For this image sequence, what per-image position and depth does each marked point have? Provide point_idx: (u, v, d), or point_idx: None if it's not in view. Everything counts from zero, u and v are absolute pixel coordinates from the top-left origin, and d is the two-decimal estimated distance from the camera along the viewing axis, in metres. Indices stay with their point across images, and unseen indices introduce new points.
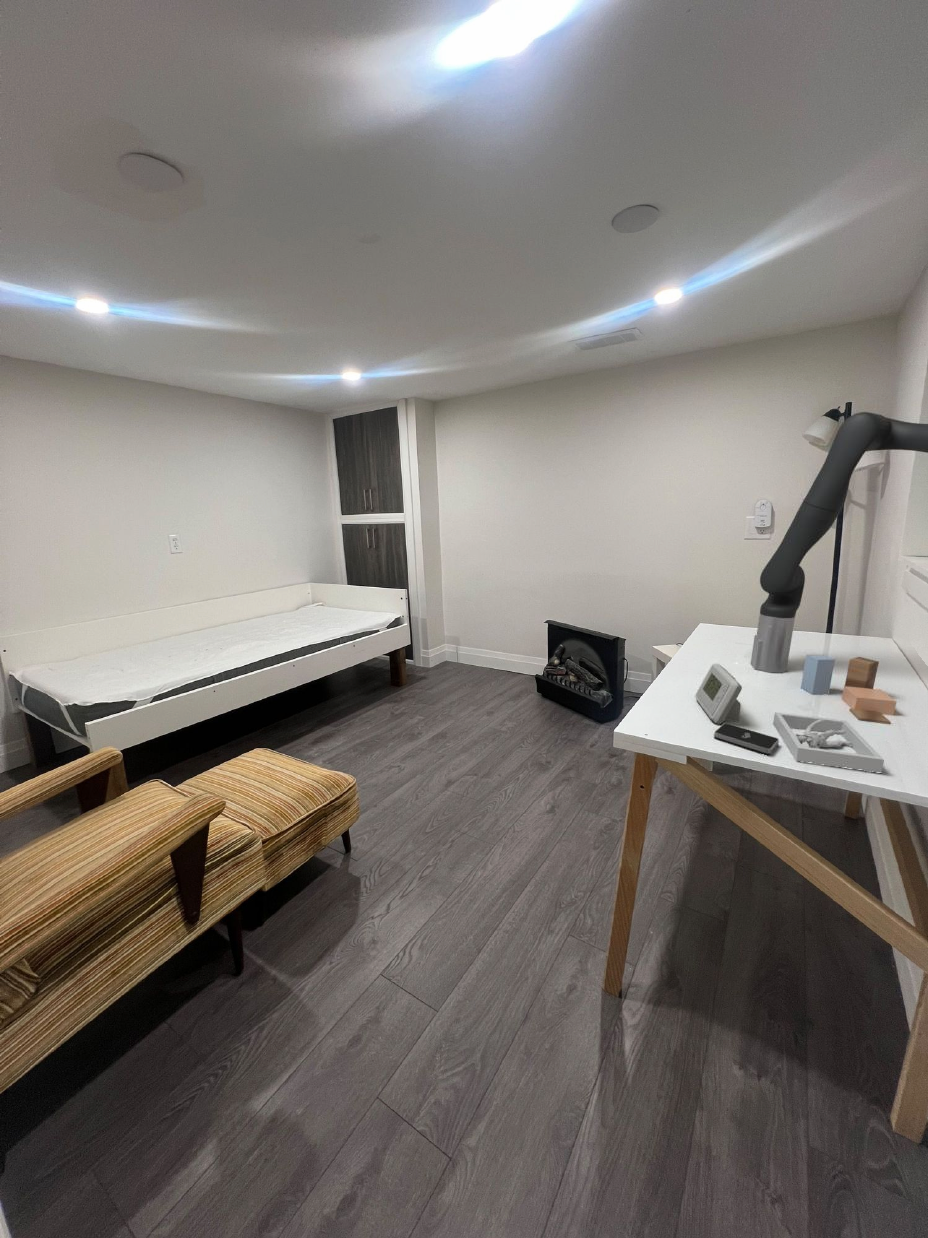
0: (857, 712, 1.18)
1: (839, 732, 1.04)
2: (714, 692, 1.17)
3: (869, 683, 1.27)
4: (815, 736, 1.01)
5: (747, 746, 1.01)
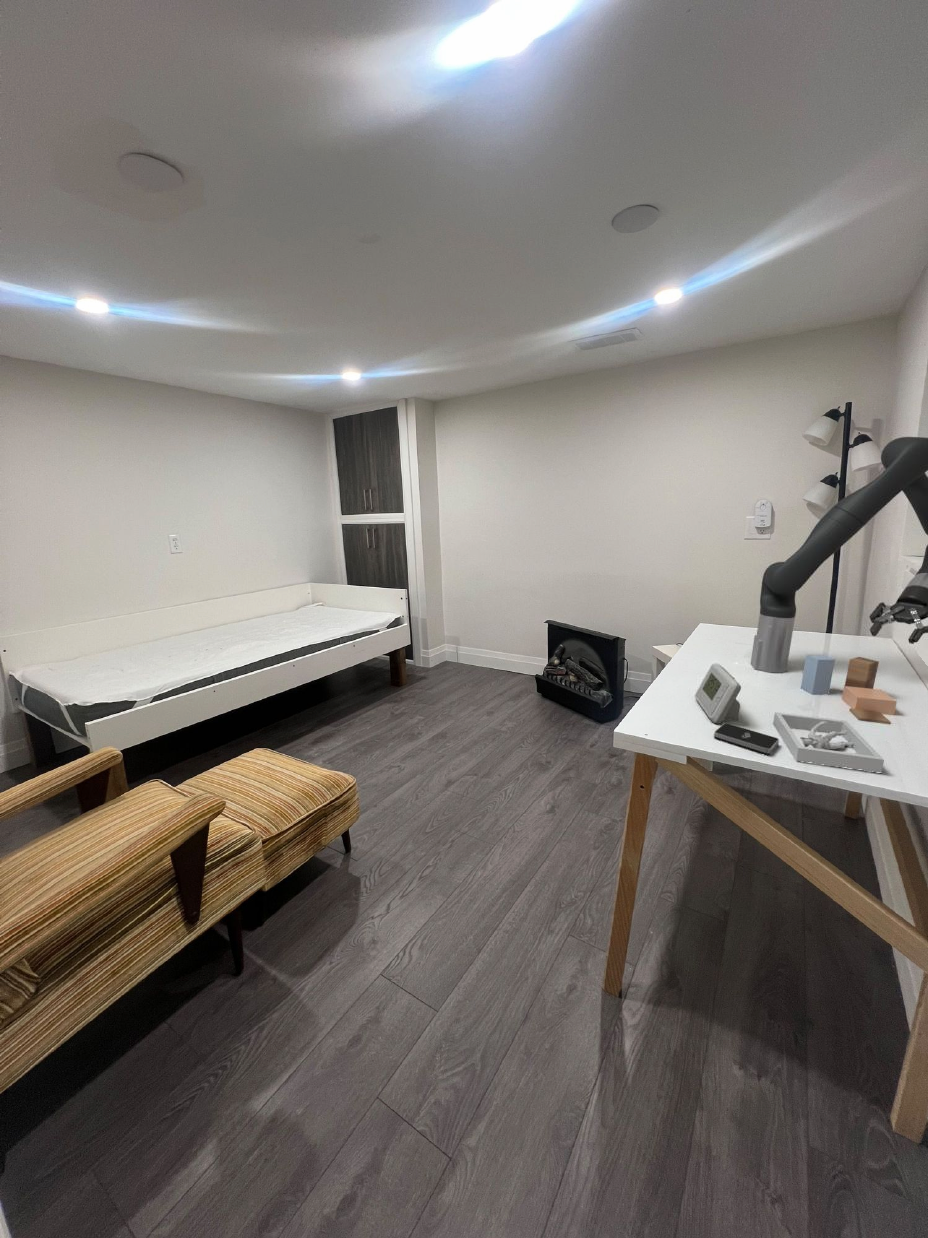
0: (857, 712, 1.18)
1: (841, 733, 1.04)
2: (714, 692, 1.17)
3: (869, 683, 1.27)
4: (820, 738, 1.00)
5: (747, 746, 1.01)
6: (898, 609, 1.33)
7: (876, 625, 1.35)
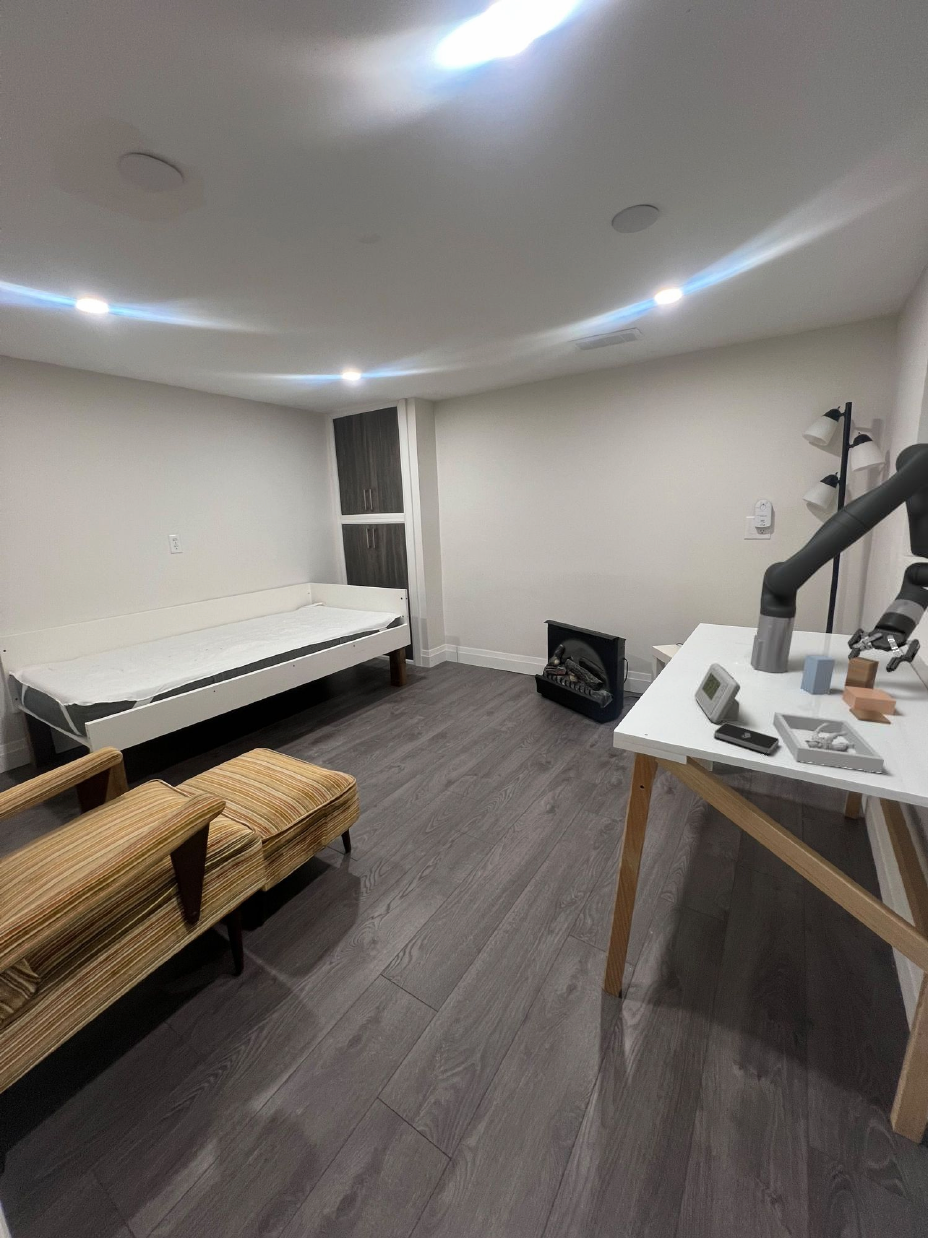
0: (857, 712, 1.18)
1: (841, 734, 1.03)
2: (713, 692, 1.18)
3: (869, 683, 1.27)
4: (824, 741, 0.99)
5: (747, 746, 1.02)
6: (876, 636, 1.31)
7: (854, 652, 1.33)
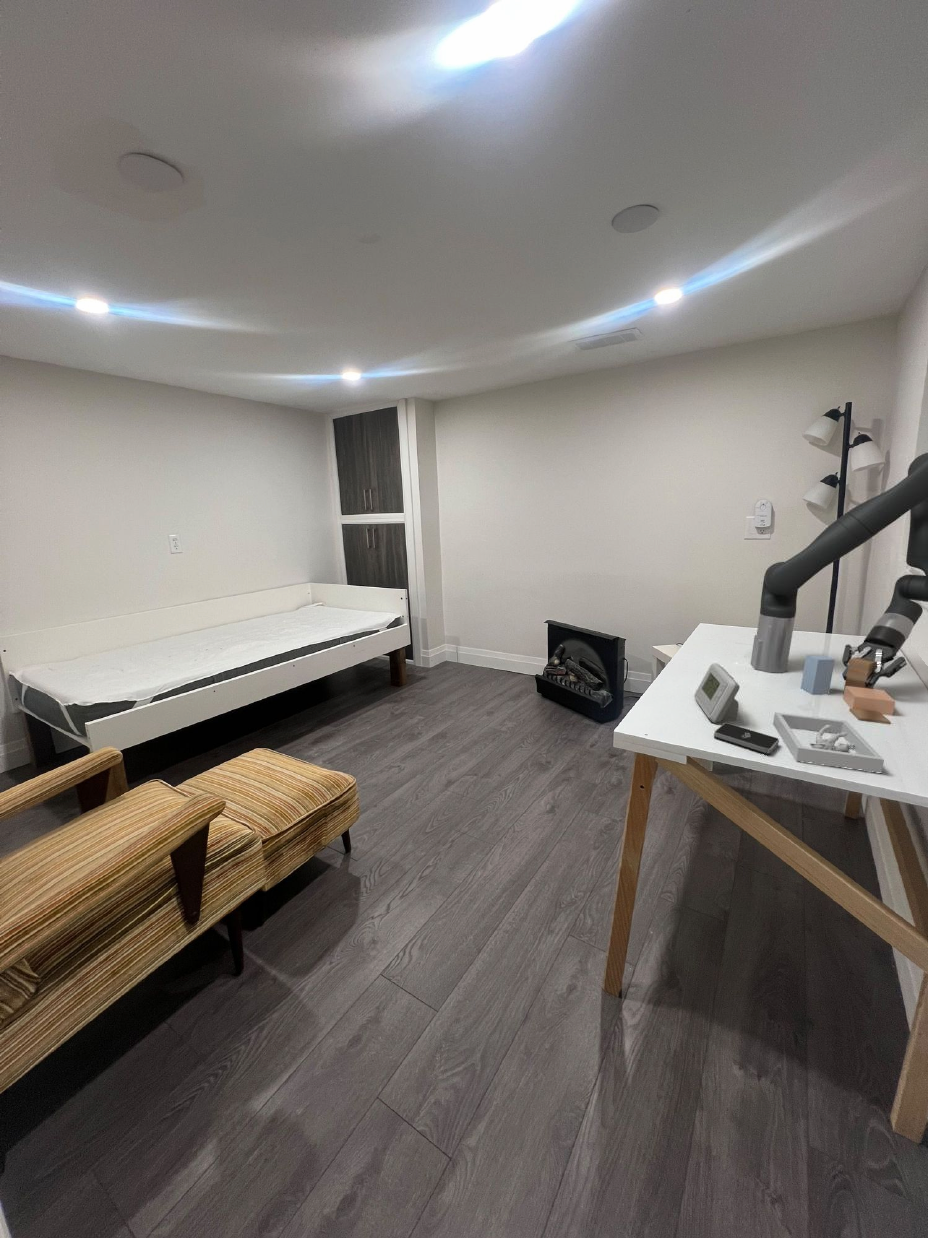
0: (857, 712, 1.18)
1: (841, 735, 1.03)
2: (713, 692, 1.18)
3: None
4: (828, 743, 0.98)
5: (747, 746, 1.02)
6: (866, 650, 1.30)
7: None
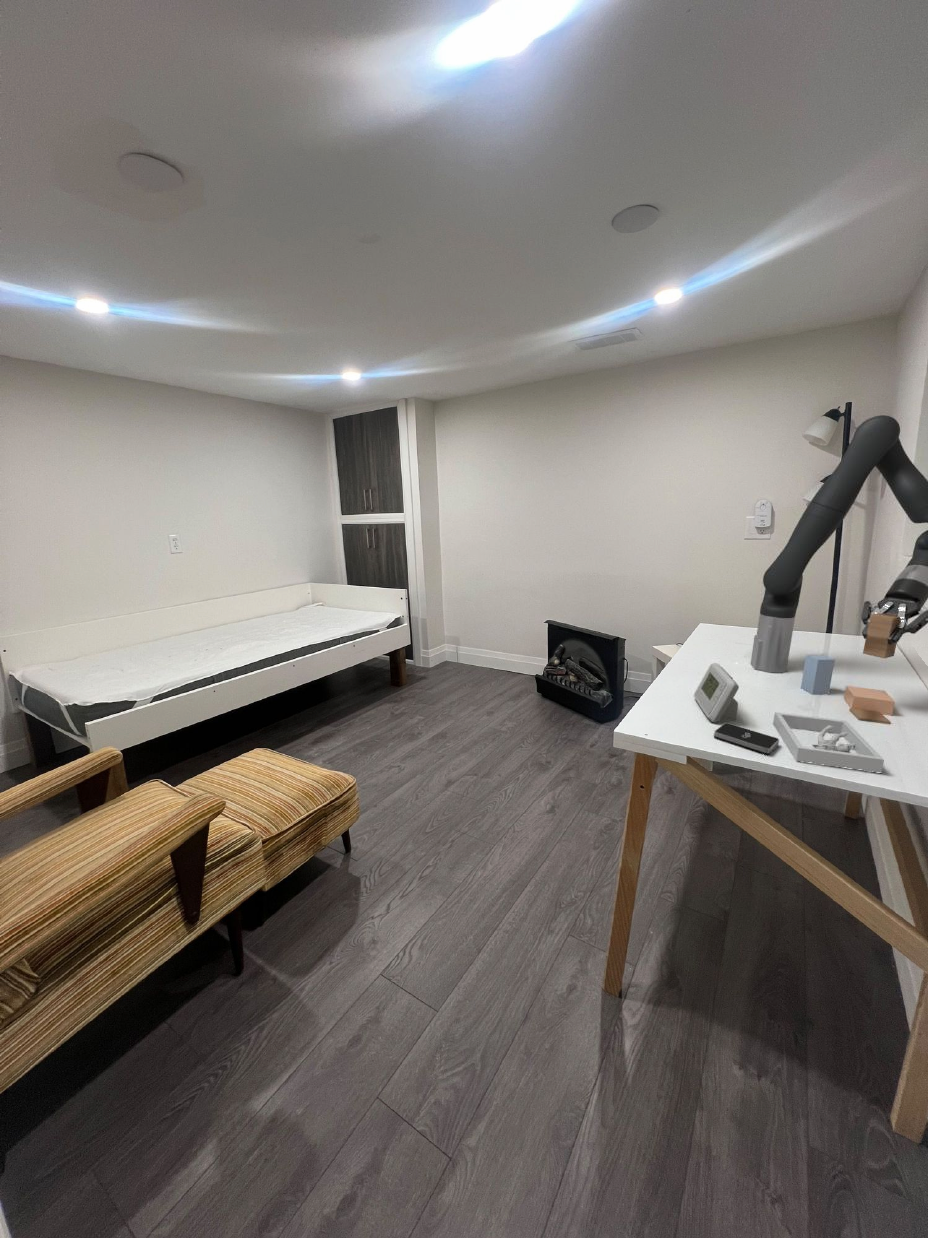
0: (857, 712, 1.18)
1: (841, 735, 1.03)
2: (712, 691, 1.18)
3: None
4: (830, 744, 0.98)
5: (747, 745, 1.02)
6: (888, 605, 1.19)
7: None
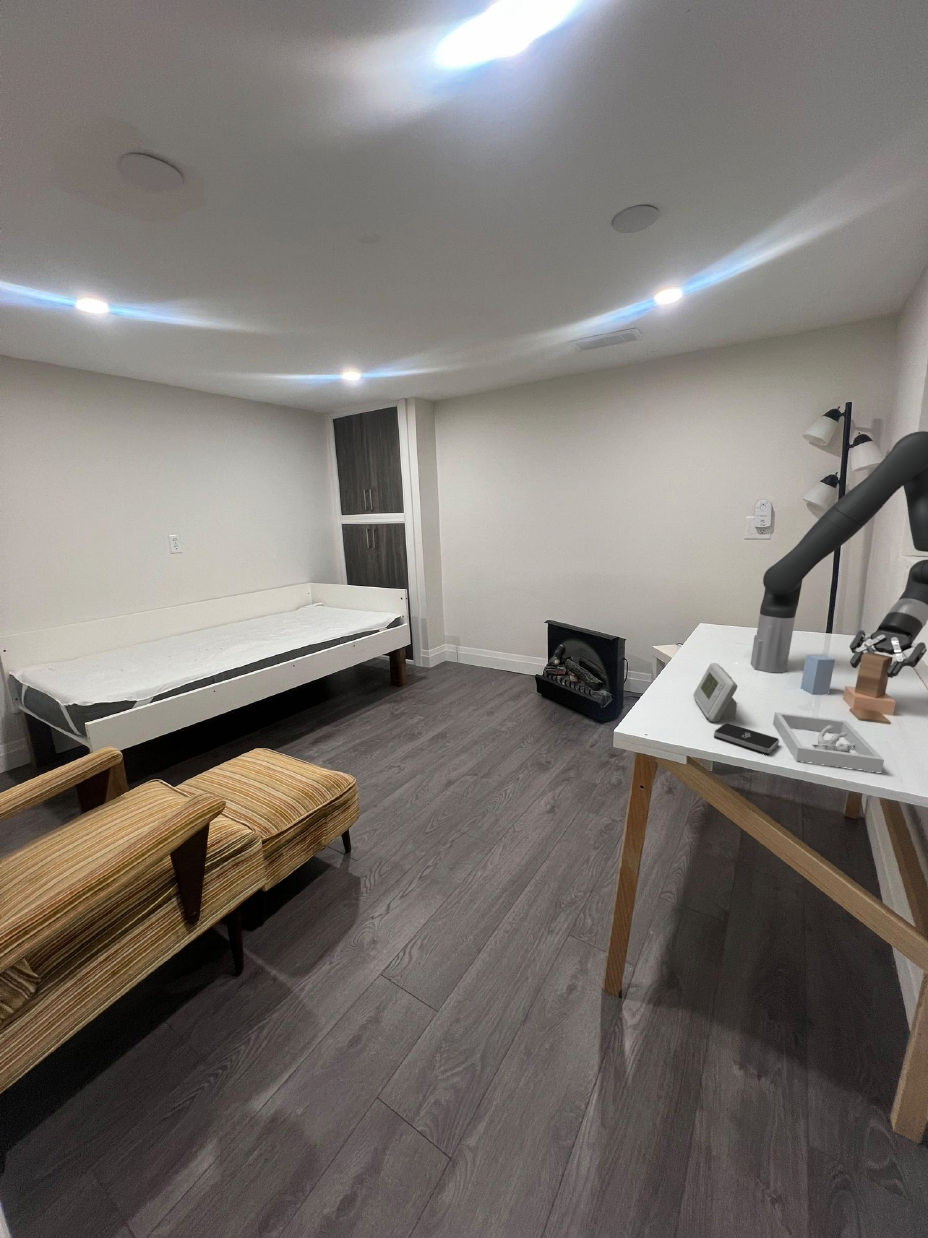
0: (857, 712, 1.18)
1: (841, 735, 1.03)
2: (711, 691, 1.18)
3: (883, 680, 1.19)
4: (830, 744, 0.98)
5: (747, 745, 1.02)
6: (879, 638, 1.21)
7: (856, 656, 1.23)
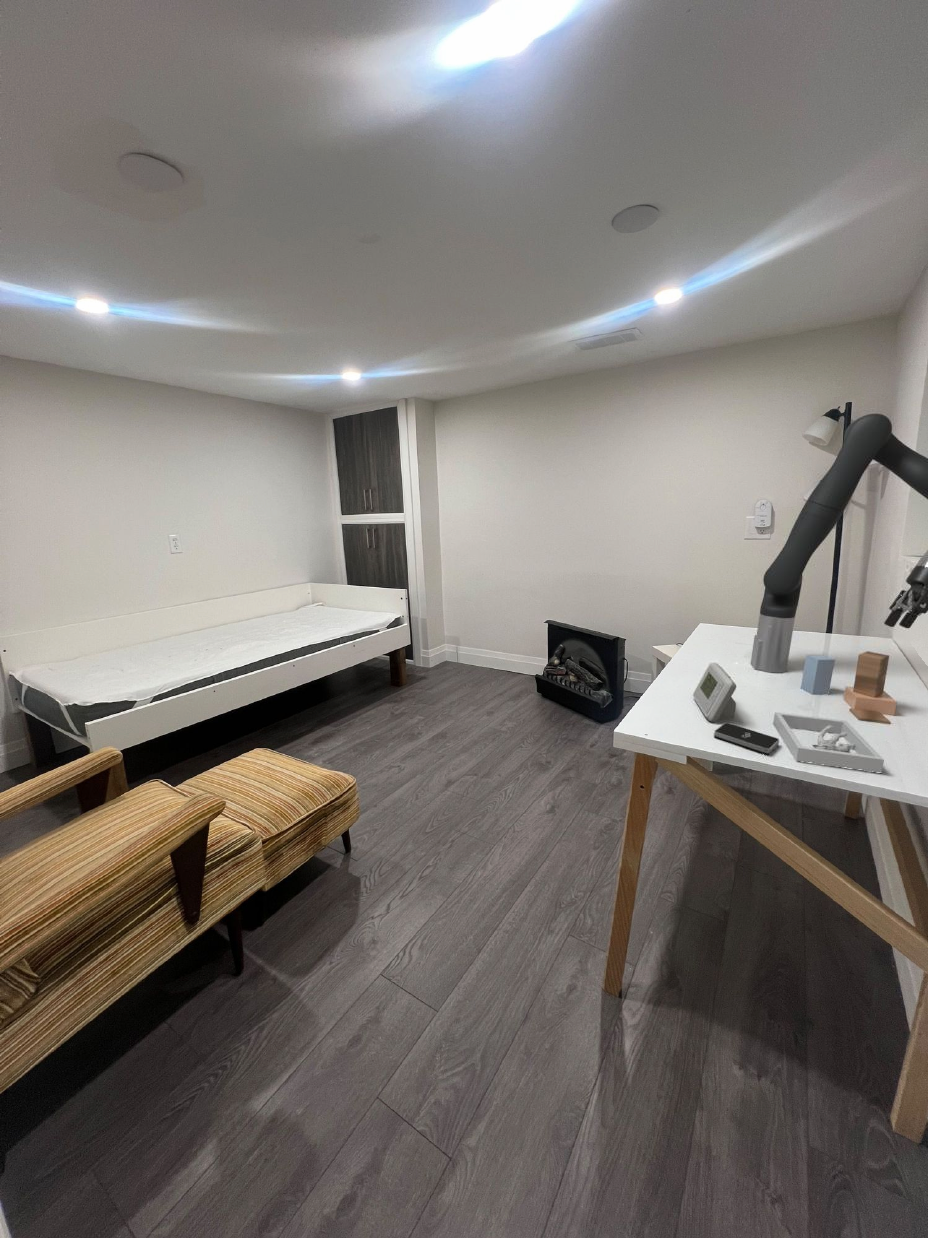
0: (857, 712, 1.18)
1: (841, 735, 1.03)
2: (710, 691, 1.18)
3: (880, 679, 1.19)
4: (830, 744, 0.98)
5: (747, 745, 1.02)
6: (903, 594, 1.27)
7: (889, 616, 1.31)
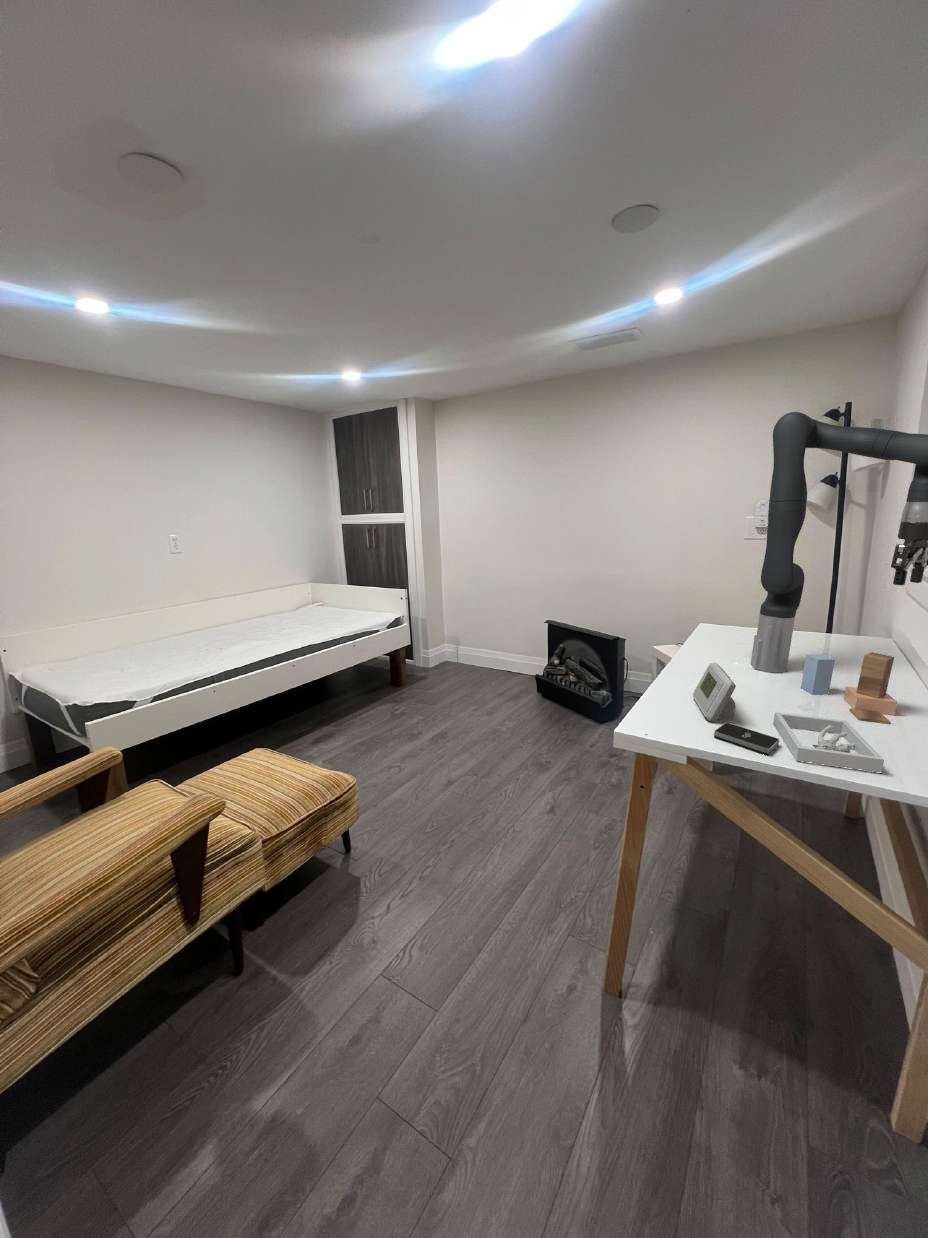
0: (857, 712, 1.18)
1: (841, 735, 1.03)
2: (710, 691, 1.18)
3: (885, 680, 1.19)
4: (830, 744, 0.98)
5: (747, 745, 1.02)
6: None
7: None
